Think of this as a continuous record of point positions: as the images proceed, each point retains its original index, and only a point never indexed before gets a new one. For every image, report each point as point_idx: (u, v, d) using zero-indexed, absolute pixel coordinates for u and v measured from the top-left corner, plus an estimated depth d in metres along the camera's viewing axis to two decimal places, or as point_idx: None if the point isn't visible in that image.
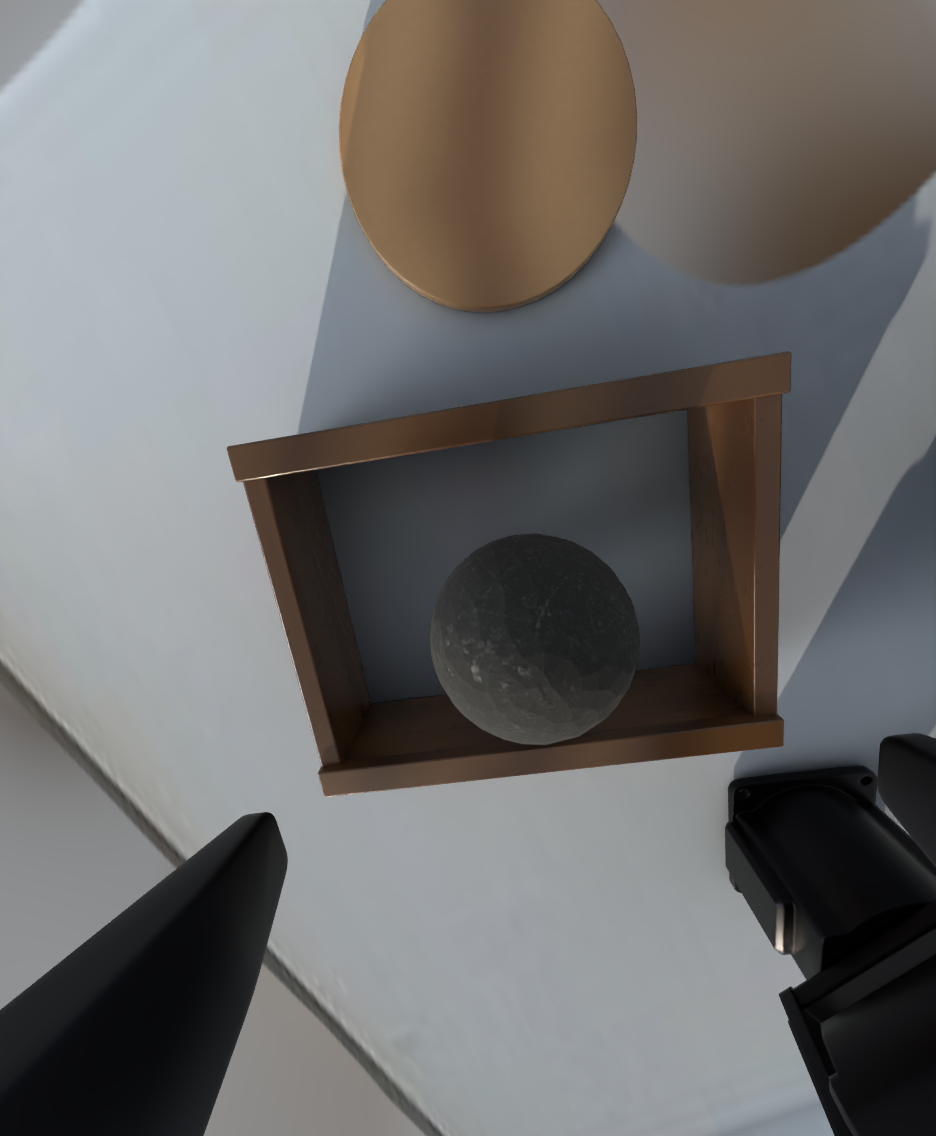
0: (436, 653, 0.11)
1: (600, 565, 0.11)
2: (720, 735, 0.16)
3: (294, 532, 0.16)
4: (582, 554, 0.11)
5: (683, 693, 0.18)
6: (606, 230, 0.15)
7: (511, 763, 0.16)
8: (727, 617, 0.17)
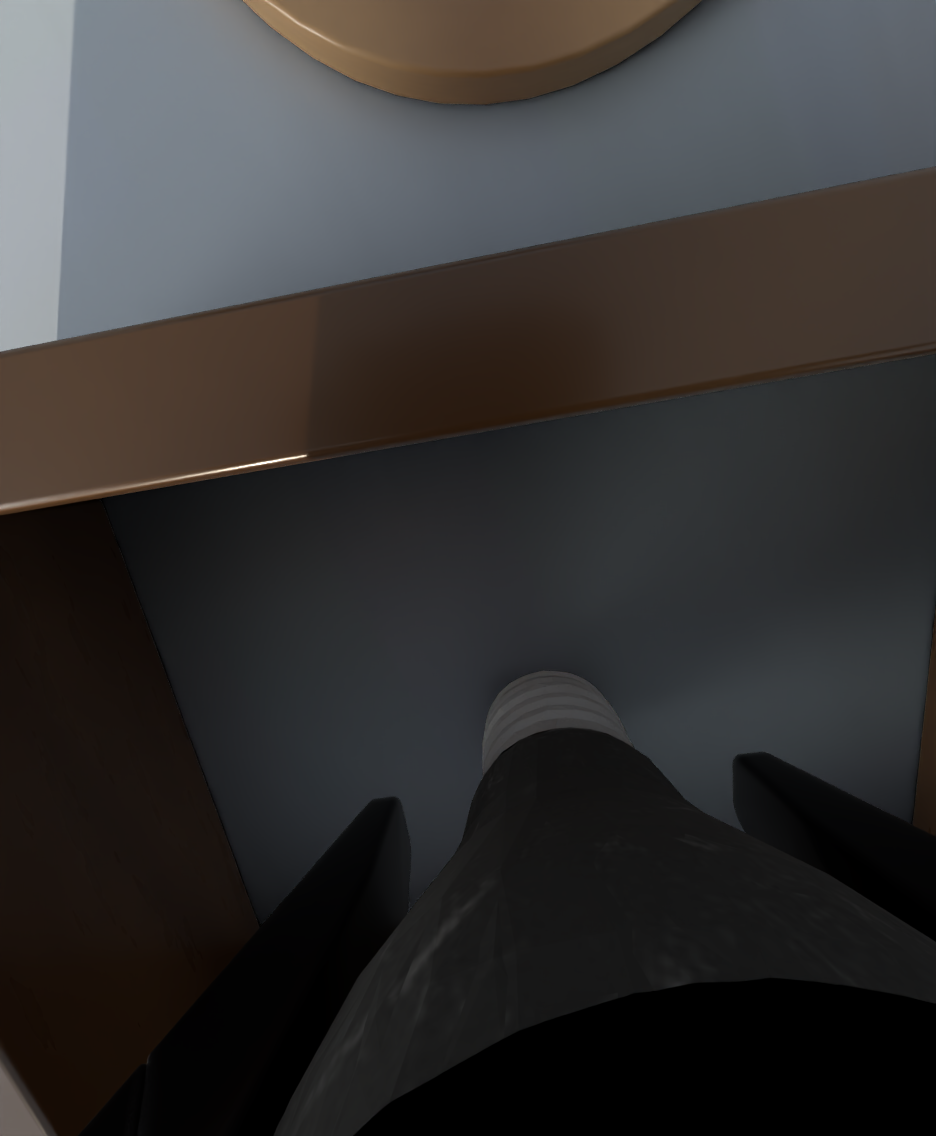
0: None
1: None
2: None
3: None
4: None
5: None
6: None
7: None
8: None
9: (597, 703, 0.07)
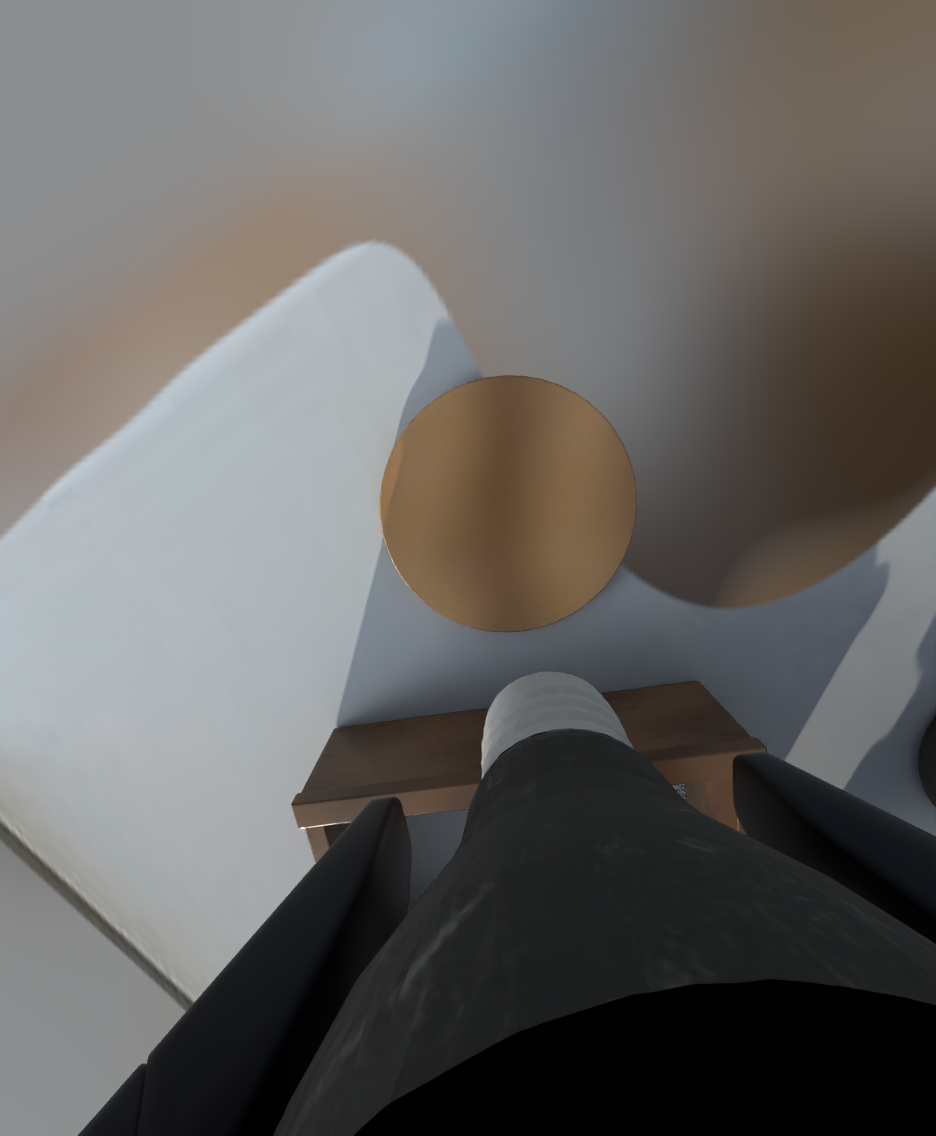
0: None
1: None
2: None
3: None
4: None
5: None
6: (610, 577, 0.18)
7: None
8: None
9: (597, 704, 0.07)
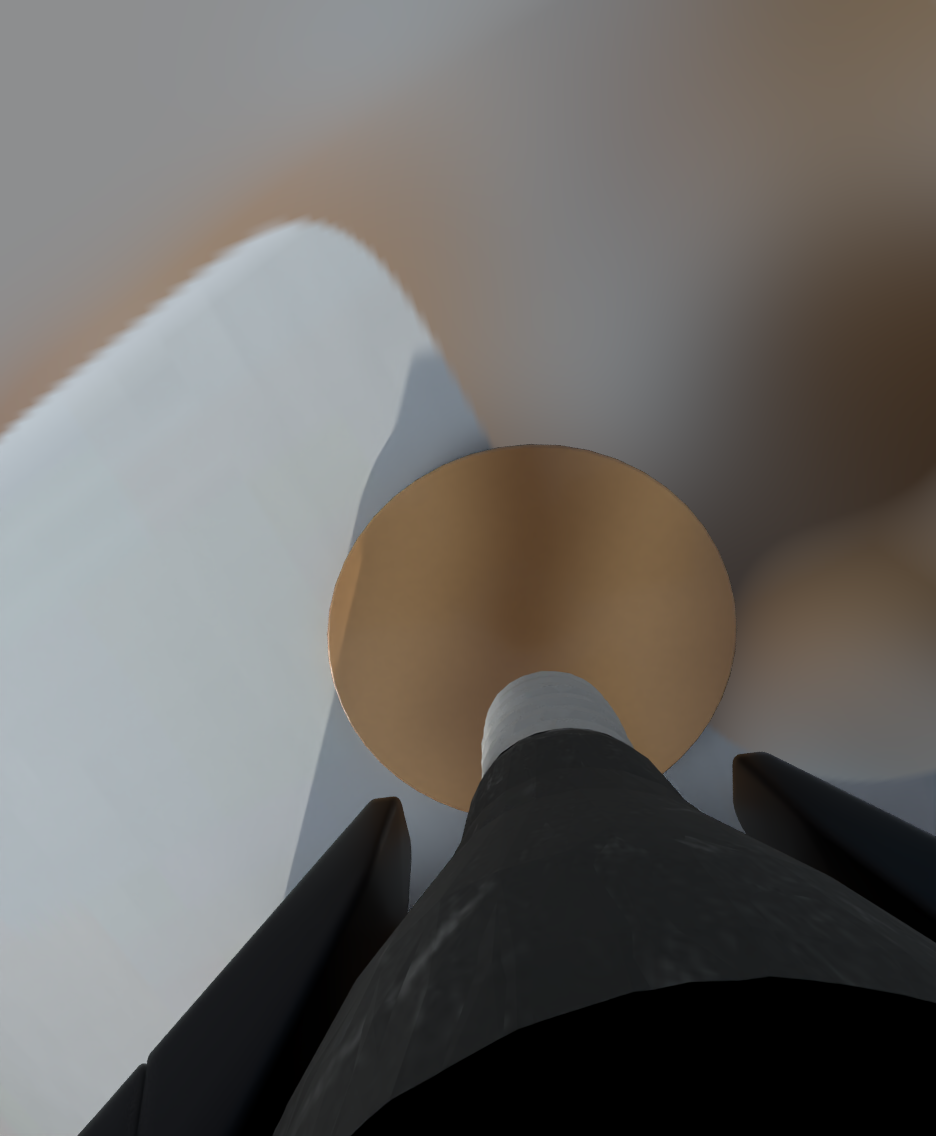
0: None
1: None
2: None
3: None
4: None
5: None
6: (689, 747, 0.12)
7: None
8: None
9: (597, 703, 0.07)
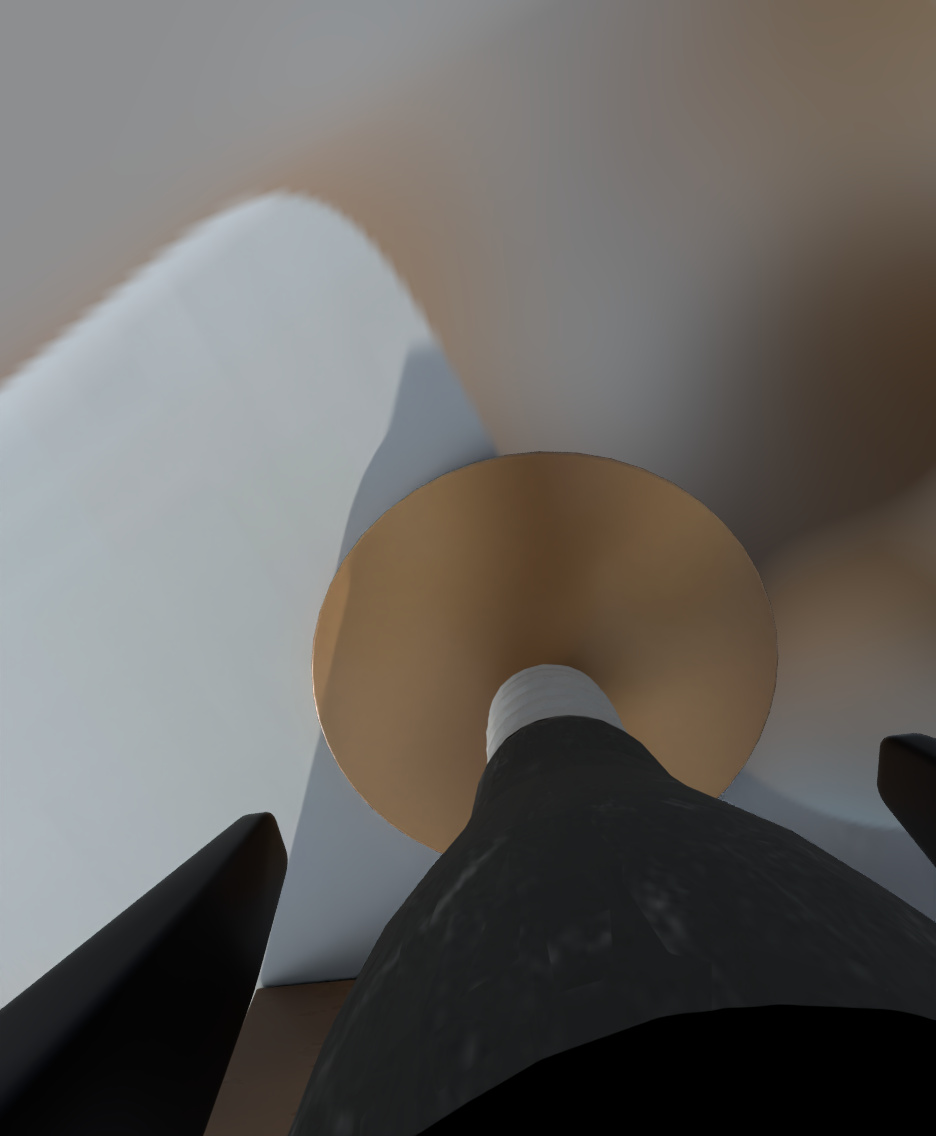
0: None
1: None
2: None
3: None
4: None
5: None
6: (720, 793, 0.10)
7: None
8: None
9: (594, 694, 0.08)
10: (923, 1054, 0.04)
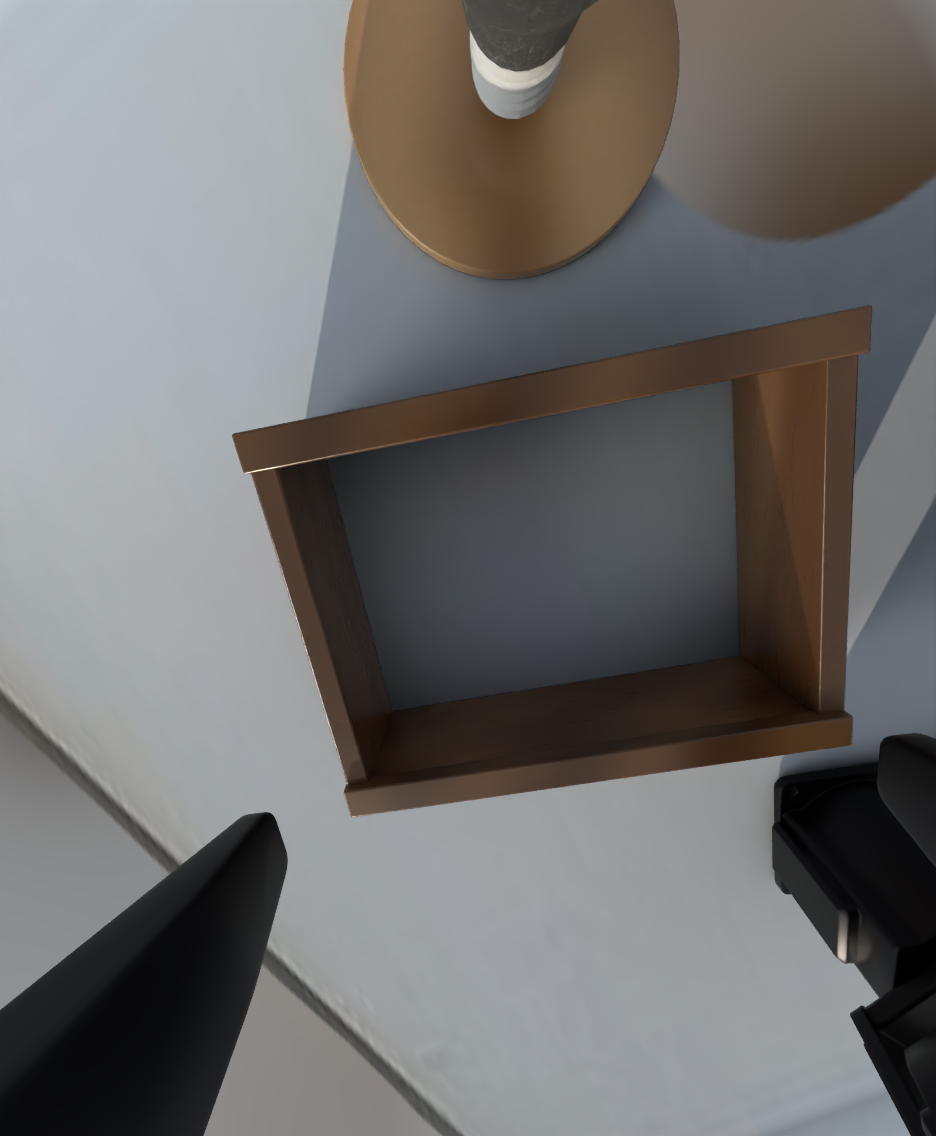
0: None
1: None
2: (783, 735, 0.14)
3: (309, 529, 0.14)
4: None
5: (733, 690, 0.17)
6: (645, 181, 0.14)
7: (555, 774, 0.15)
8: (784, 607, 0.15)
9: None
10: None
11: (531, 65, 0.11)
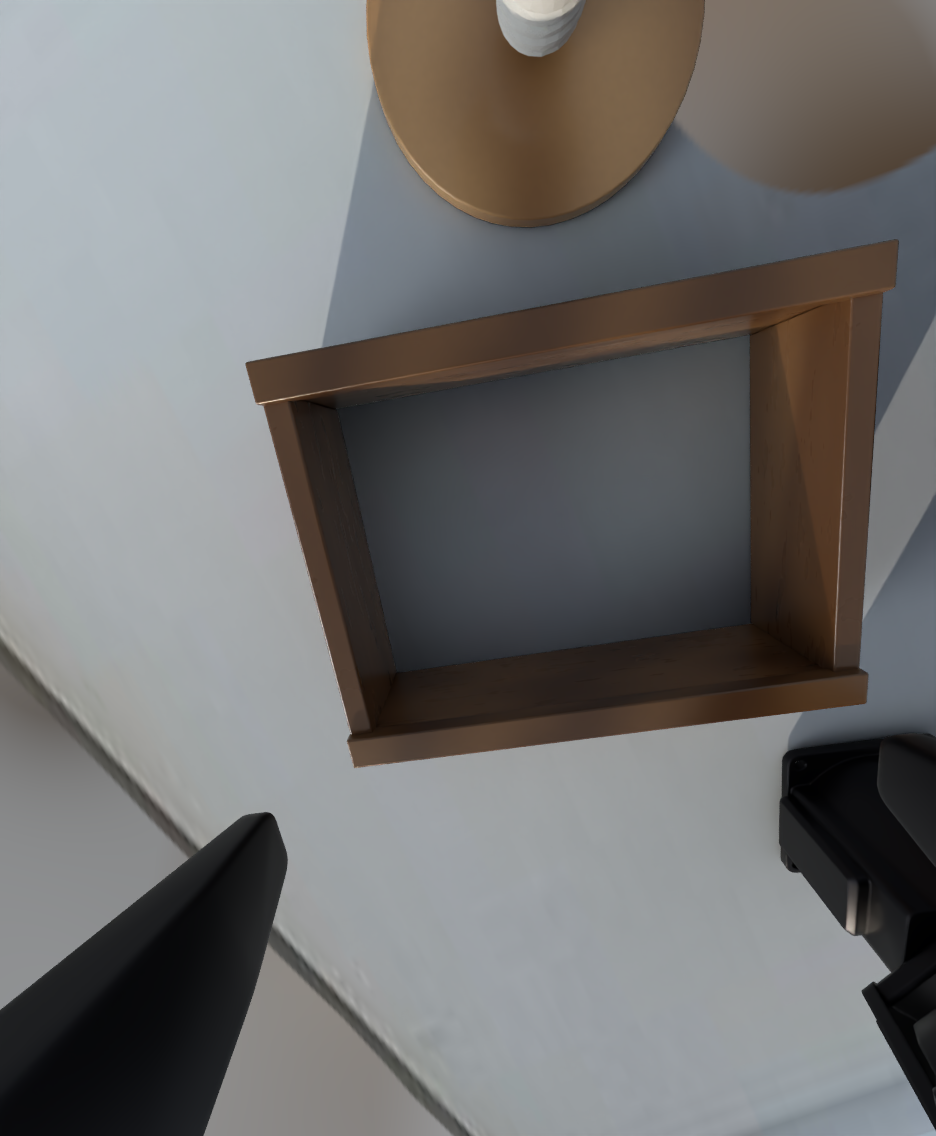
0: None
1: None
2: (797, 692, 0.14)
3: (319, 469, 0.14)
4: None
5: (744, 652, 0.16)
6: (667, 126, 0.14)
7: (563, 727, 0.15)
8: (798, 565, 0.15)
9: None
10: None
11: None
